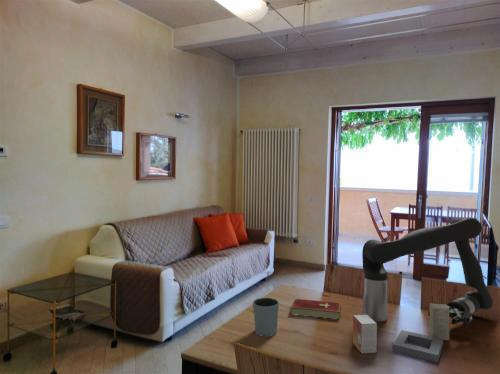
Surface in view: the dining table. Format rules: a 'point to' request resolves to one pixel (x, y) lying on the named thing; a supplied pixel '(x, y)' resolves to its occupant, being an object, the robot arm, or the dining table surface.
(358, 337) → the small box
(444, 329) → the skincare box
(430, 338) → the pocket stand
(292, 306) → the hardcover book
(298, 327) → the dining table surface
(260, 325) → the grey ceramic cup
